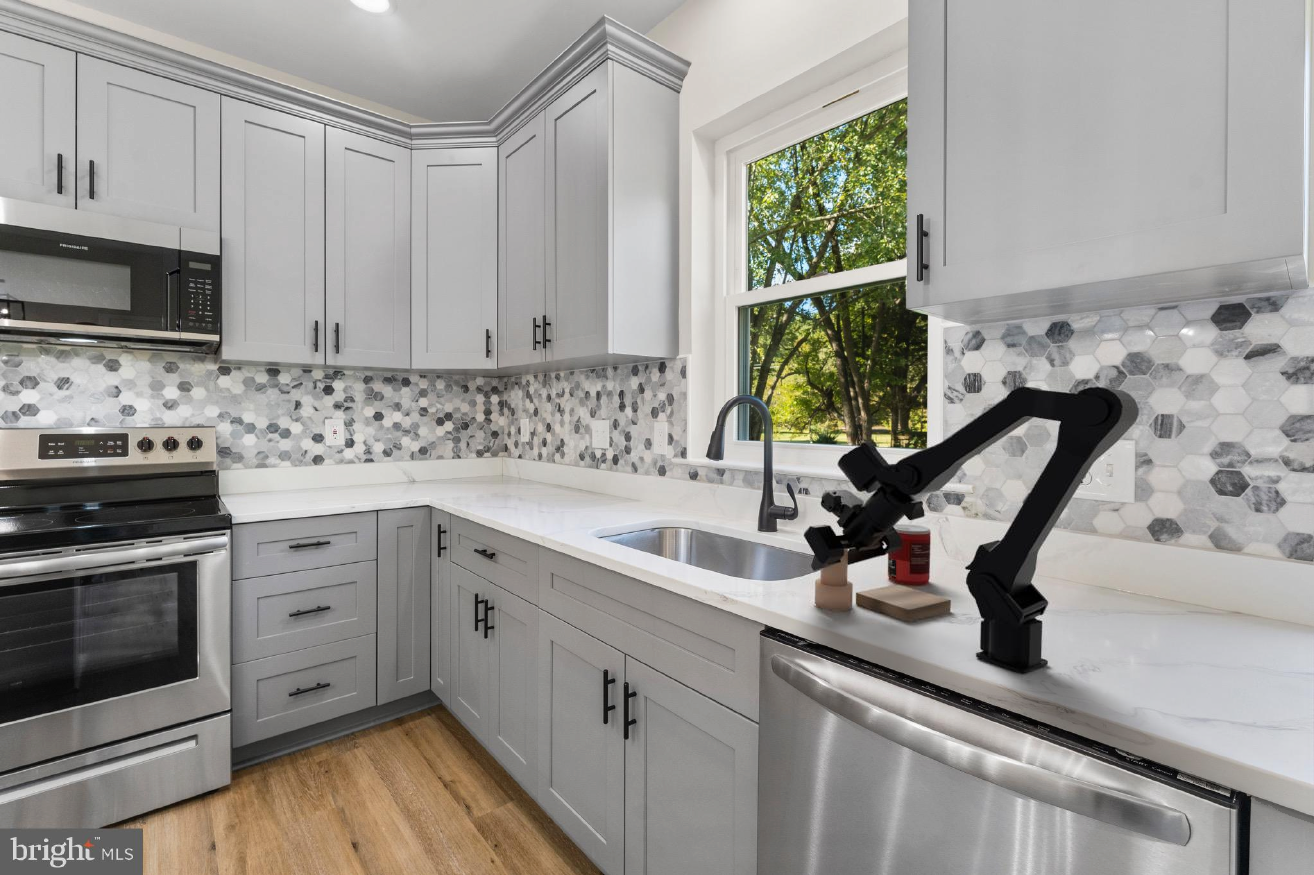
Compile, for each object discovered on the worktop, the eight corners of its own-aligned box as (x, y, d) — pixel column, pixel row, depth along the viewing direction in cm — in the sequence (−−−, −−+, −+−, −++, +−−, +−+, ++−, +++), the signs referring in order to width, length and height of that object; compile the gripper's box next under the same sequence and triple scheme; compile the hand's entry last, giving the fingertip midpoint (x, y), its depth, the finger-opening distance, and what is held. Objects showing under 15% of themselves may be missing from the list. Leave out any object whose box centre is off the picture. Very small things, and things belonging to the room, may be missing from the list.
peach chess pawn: (860, 607, 106) (861, 545, 106) (834, 612, 103) (835, 548, 103) (832, 597, 112) (833, 538, 112) (807, 602, 109) (808, 542, 108)
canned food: (891, 574, 129) (892, 522, 129) (931, 579, 125) (932, 526, 125) (884, 582, 123) (885, 528, 122) (926, 588, 118) (928, 532, 118)
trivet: (950, 611, 104) (950, 599, 104) (908, 621, 99) (908, 609, 99) (896, 594, 114) (896, 584, 114) (855, 603, 108) (855, 592, 108)
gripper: (889, 473, 108) (841, 525, 118) (812, 478, 99) (767, 534, 109) (927, 524, 101) (873, 574, 111) (849, 534, 92) (797, 588, 102)
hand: (828, 566), depth 109 cm, fingers open, 7 cm apart
